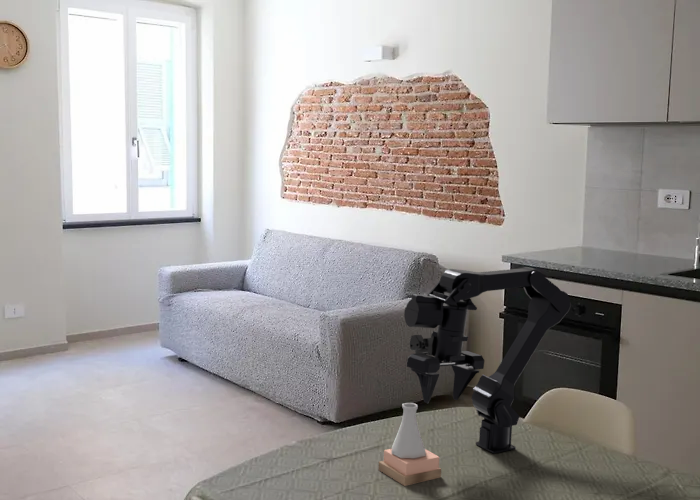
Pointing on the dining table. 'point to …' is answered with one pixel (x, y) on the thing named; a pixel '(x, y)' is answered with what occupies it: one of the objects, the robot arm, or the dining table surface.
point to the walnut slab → (410, 478)
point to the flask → (408, 435)
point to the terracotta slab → (412, 463)
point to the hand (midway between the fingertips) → (441, 400)
